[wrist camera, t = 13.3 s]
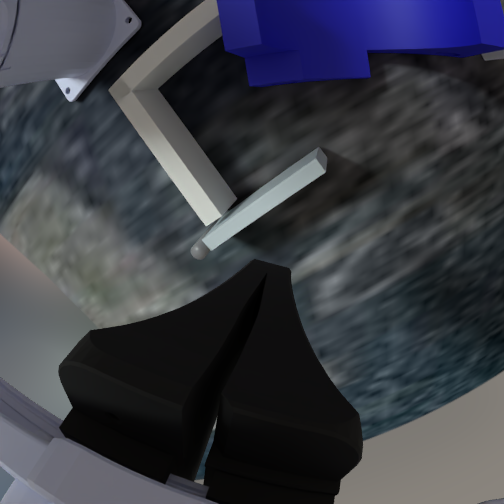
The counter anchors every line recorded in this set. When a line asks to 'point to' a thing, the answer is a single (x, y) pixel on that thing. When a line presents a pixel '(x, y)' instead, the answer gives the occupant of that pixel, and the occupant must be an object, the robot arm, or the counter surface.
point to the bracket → (166, 120)
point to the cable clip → (351, 34)
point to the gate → (262, 201)
